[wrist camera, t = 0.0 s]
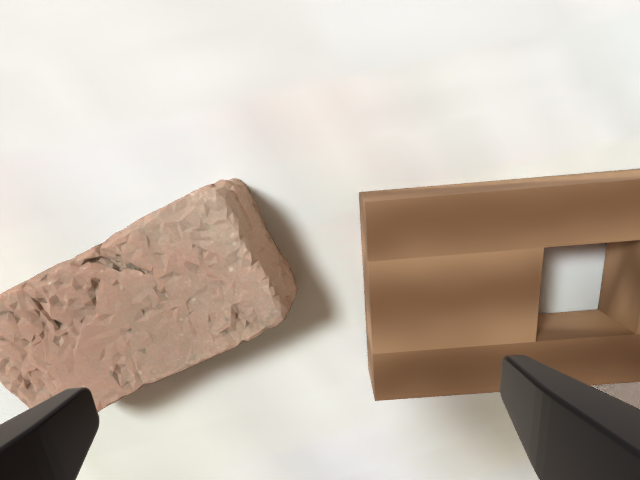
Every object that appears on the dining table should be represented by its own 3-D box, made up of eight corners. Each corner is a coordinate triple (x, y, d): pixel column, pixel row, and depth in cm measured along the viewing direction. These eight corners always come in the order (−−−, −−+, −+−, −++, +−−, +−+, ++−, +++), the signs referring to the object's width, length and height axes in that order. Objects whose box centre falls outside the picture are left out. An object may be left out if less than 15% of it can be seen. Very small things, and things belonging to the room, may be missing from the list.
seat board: (640, 349, 25) (682, 378, 22) (368, 369, 25) (375, 400, 22) (674, 165, 21) (729, 171, 18) (358, 192, 22) (365, 202, 19)
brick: (236, 167, 22) (214, 178, 17) (304, 286, 24) (300, 324, 19) (13, 288, 24) (-60, 325, 19) (93, 387, 26) (45, 442, 21)
